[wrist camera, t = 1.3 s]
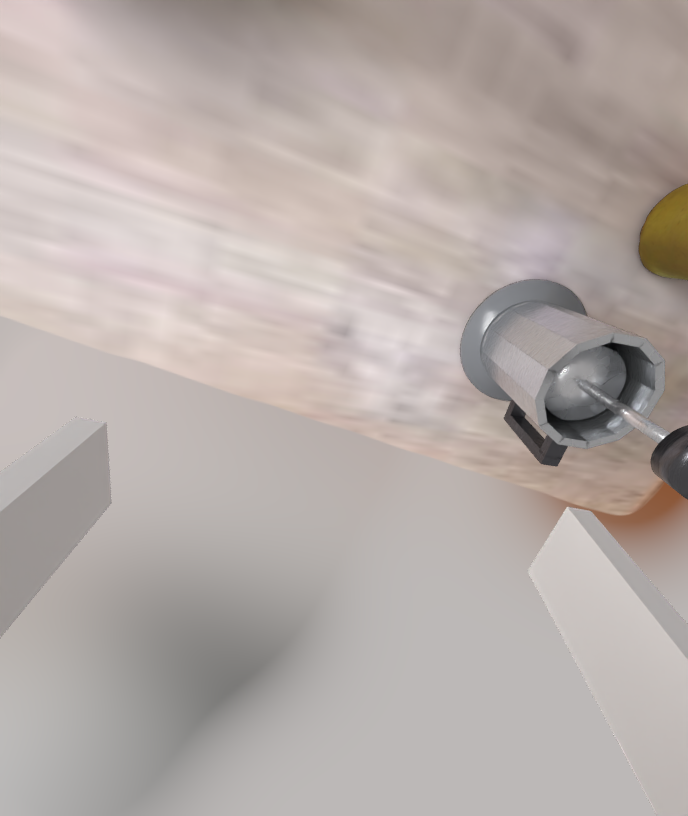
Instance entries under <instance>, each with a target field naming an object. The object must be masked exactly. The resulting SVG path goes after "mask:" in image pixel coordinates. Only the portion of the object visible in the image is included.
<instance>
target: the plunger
mask: <svg viewBox="0 0 688 816" xmlns="http://www.w3.org/2000/svg"><path fill="white" fill-rule="evenodd" d="M625 380H626V367H625V363H624V361H623V359H622V358H621V356H620V355H619V354H618V353H617V352H615V351H613V350H612V349H610V348H607V347H605V346H603V345H601V346H598V347H594V348H591V349H588V350H585V351H582V352H580V353H579V354H578V355H576V356H575V357H574V358H573V359H572V360H571V361H569V362H568V363H567V364H566V365H565V366H564V367H562V368H561V369H560V370H559V371H558V372H557V373H556V374H555V376H554V378H553V380H552V383H551V385H550V387H549V389H548V391H547V394H546V396H545V398H544V403H545V407H546V408H547V409H548V410H549V411H550V412H551V413H552V414H554V415H555V416H557V417H559V418H562V419H565V420H582V419H587V418H590V417H592V416H595V415H597V414H599V413H600V412H602V411H604V410H605V409H606V408H608V409H609V410H611V411H612V412H614V413H615V414H617V415H618V416H620V417H621V418H622V419H624V420H625V421H627V422H628V423H630V424H631V425H632V426H634V427H635V428H637V429H638V430H640V431H641V432H643V433H644V434H645V435H647V436H648V437H650V438H651V439H653V440H654V441H656V442H657V443H658V445H657V447H656V448H655V450H654V452H653V454H652V457H651V467H652V470H653V472H654V473H655V474H656V475H657V476H658V477H659V478H661V479H662V480H663V481H664V482H666V483H667V484H668V485H670V486H671V487H672V488H673V489H675V490H676V491H677V492H678V493H679V494H681V495H682V496H683V497H685V498H686V499H688V425H687V426H684V427H681V428H679V429H677V430H675V431H673V432H672V433H669V432H668V431H666V430H665V429H663V428H661V427H660V426H658V425H657V424H655V423H654V422H652V421H651V420H649V419H647V418H646V417H644V416H643V415H641V414H640V413H638V412H636V411H635V410H633V409H632V408H630V407H629V406H627V405H625V404H624V403H622V402H621V401H619V400H618V399H617V397H618V396H619V394H620V393H621V391H622V389H623V387H624V384H625Z"/></svg>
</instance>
